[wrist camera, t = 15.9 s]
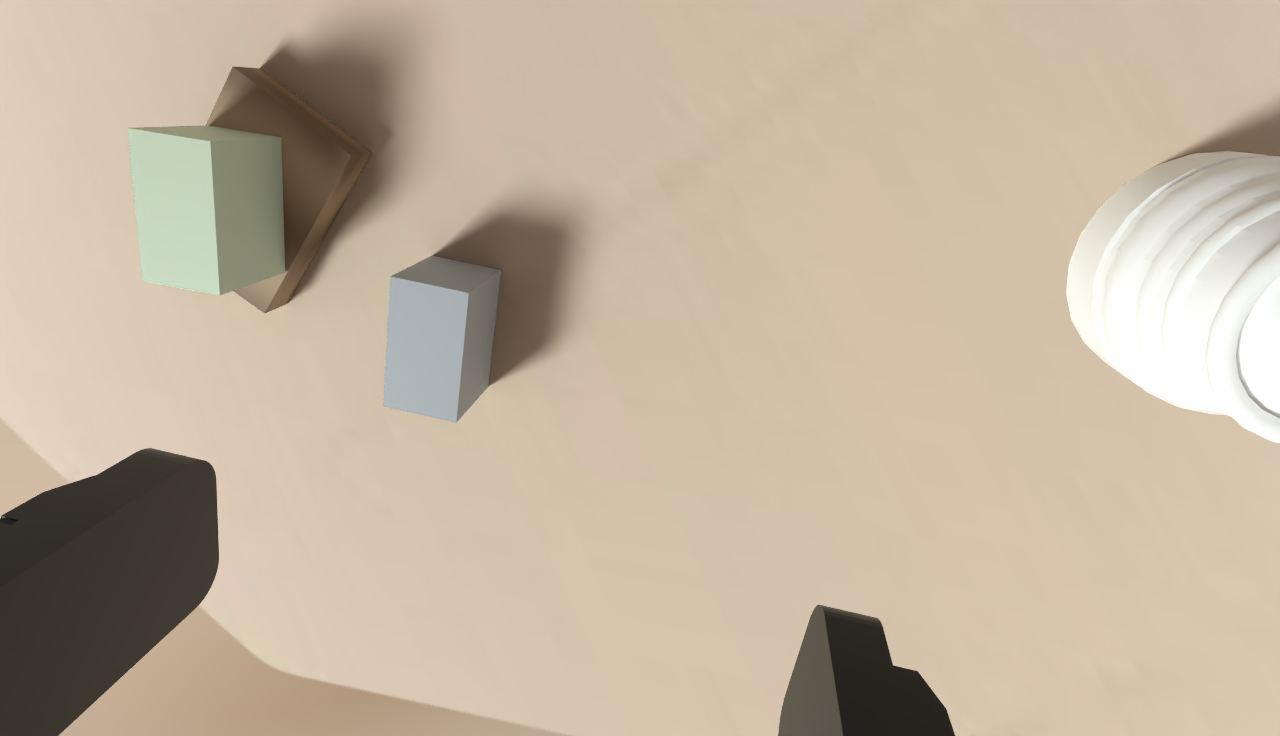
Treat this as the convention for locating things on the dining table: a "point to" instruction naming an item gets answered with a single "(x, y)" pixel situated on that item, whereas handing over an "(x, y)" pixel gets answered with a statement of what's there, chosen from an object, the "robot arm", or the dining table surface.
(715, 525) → the dining table surface
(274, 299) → the walnut brick
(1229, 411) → the honey pot
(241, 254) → the sage brick
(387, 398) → the slate brick
